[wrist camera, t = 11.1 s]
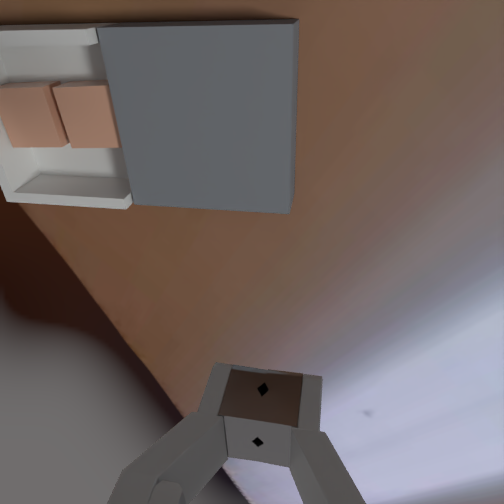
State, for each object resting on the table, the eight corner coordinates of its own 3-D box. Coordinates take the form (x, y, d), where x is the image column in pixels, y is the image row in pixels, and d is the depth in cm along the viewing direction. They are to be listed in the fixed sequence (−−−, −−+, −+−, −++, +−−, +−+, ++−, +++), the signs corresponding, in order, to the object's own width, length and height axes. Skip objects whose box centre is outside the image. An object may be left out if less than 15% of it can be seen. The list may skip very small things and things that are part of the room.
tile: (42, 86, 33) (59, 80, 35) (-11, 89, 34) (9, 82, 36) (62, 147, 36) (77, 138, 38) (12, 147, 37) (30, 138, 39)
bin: (-14, 25, 34) (-62, 31, 30) (118, 22, 32) (85, 29, 28) (39, 179, 42) (7, 201, 38) (148, 185, 40) (126, 209, 36)
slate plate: (121, 22, 32) (96, 27, 29) (299, 19, 30) (293, 24, 27) (151, 185, 40) (134, 204, 37) (294, 193, 38) (289, 214, 34)
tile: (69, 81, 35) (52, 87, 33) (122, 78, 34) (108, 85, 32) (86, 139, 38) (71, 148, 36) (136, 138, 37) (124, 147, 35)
